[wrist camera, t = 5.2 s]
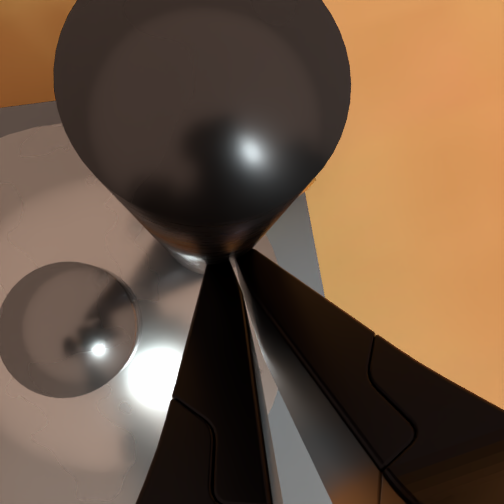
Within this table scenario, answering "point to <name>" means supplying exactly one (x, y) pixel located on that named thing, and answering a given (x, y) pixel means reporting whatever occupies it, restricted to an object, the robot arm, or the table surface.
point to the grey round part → (145, 218)
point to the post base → (288, 257)
